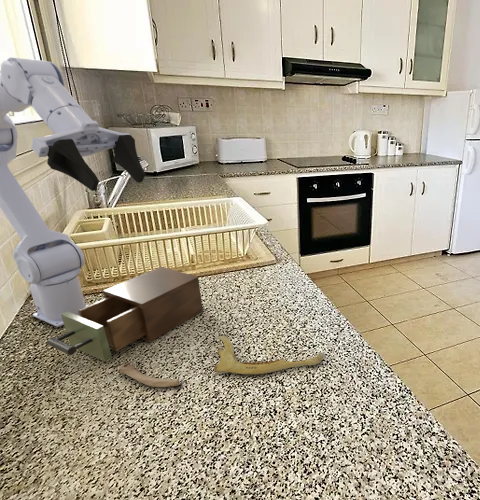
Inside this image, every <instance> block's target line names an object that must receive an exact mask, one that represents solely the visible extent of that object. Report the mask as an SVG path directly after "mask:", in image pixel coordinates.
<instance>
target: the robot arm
mask: <svg viewBox="0 0 480 500" xmlns="http://www.w3.org/2000/svg"><path fill="white" fill-rule="evenodd" d="M29 108H32V109H33V110H34V111H35V113H36V114H37V115H38V116H39V118H41V120H42V121H43V122H44V123H45V124H46V126H47V127H48V128H49V129H50V131H51V132H52V133H53V134H50V135H45V136H40V137H39V136H38V137H33V138H32V142H31V146H30V149H31V150H32V151H33V152H34V153H35V155H36V156H37V157H38V158H45V157H47V161H46V164H47V166H48V167H49V168H50V169H51V170H54V171H57V172H60V173H62V174H64V175H66V176H69V177H70V178H72V179H74V180H75V181H77V182H79V183H80V184H81V185H83V186H85V188H87V189H89V190H90V191H91V192H94V191H97V189H98V186H99V183H100V180H99V178H98V176H97V175H96V174H95V172H94V171H93V170H92V168H91V167H90V166H89V165H88V164H87V162H86V161H85V160H84V157H88V156H92V155H95V154H98V153H101V152H104V151H108V150H111V149H112V150H113V151H112V152H113V154H114V155H113V158H112V162H113V163H114V164H117V165H118V166H120V167H121V168H122V169H123V170H124V171H125V172H126V173H127V174H128V175H129V176H130V177H131V178H132V179H133V181H135V182H136V183H138V184H139V183H142V182H143V181H144V179H145V177H146V172H145V170H144V168H143V166H142V164H141V162H140V159H139V156H138V153H137V147H136V139H135V138H134V137H133V136H132V135H131V134H130V133H129V132H120V131H116V130H111V129H108V128H104V127H101V126H99V125H100V123H98V121H97V120H93V119H92V118H91V117H90V116H89V114H88V113H87V112H86V110H84V109H83V107H82V106H81V104H79V103H78V101H77V100H76V99H75V98H74V97H73V95H71V93H70V92H69V91H68V89H66V87H65V81H64V77H63V73H62V72H61V70H60V68H59V67H58V65H56V64H55V62H52V61H47V60H43V59H42V60H41V59H32V58H31V59H30V58H20V57H9V58H7V59H6V60H2V62H1V64H0V210H1V211H2V213H3V214H4V216H5V218H6V219H7V220H8V222H9V223H10V225H11V226H12V228H13V229H14V230H15V231H14V232H16V234H17V235H18V237H19V238H20V241H19V242H18V244H16V246H15V247H14V249H13V252H12V258H13V260H14V262H15V264H16V266H17V269H18V272H19V274H20V275H21V277H22V278H23V280H25V281H26V282H27V283H29V284H30V286H29V289H30V290H29V291H30V294H31V297H32V299H33V302H34V305H35V306H34V307H35V309H36V312H35V313H33V314H32V317H34V318H35V319H38V320H41V321H42V322H44V323H47V324H50V325H51V326H54V327H56V328H60V327H62V326H64V323H63V319H62V316H61V314H63V313H65V312H71V313H73V314H76V315H78V316H80V315H79V311H78V310H79V309H82V308H84V307H86V306H89V305H90V304H86V299H85V297H84V292H83V289H82V285H81V282H80V278H79V275H80V274H82V271H81V269H83V268H84V266H85V255H84V252H83V251H82V249H81V247H80V246H79V245H78V244H77V243H75V242H74V241H73V240H72V239H71V237H69V234H66V233H63V232H60V231H56V230H52V229H50V228H49V226H48V225H47V224H46V222H45V221H44V219H43V218H42V216H41V215H40V213H39V212H38V210H37V208H36V207H35V206H34V204H33V203H32V201H31V199H30V197H29V196H28V195H27V194H26V192H25V190H24V189H23V187H22V186H21V184H20V183H19V181H18V180H17V178H16V176H15V175H14V174H13V172H12V170H11V169H10V168H9V164H10V163H12V162H13V161H14V160H16V159H17V151H18V150H17V149H18V131H17V127H16V125H15V123H14V121H13V119H12V117H11V116H10V115H9V113H10V112H11V113H21V112H24V111H26V110H27V109H29Z"/></svg>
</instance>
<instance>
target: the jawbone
mask: <svg viewBox="0 0 480 500" xmlns="http://www.w3.org/2000/svg"><path fill="white" fill-rule="evenodd" d="M216 340H219V341H221V342H222V343H223V346H224V349H222V348H218V349H217V353H218V354H217V355H218V356H219V362H218V363H216V364H215V365H214V367H213V371H214V372H216V373H218V374H221V373H233V374H239V375H265V374H270V373H274V372H278V371H282V370H286V369H290V368H295V367H302V366H309V367H310V366H315V365H318V364H321V363H322V361H323V360H325V358H326V354H325V353H324V352H322V351H319V352H318V353H317V354H316V356H313V357H311V358H307V359H302V360H298V361H297V360H296V361H287V360H285V359H284V358H282V357H281V358H280V359H277V358H275V359H274V360H273V359H270V360H269V361H267V360H261V361H258V360H257V361H254V360H253V361H247V360H246V361H243V362H240V361H238V360H237V358H236V355H235V352H234V346H233V343H232V342H231V340H230V339H229V337H228V336H226V335H220V336H217V337H216Z"/></svg>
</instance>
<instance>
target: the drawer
mask: <svg viewBox="0 0 480 500" xmlns="http://www.w3.org/2000/svg"><path fill="white" fill-rule="evenodd" d="M88 305H89V306H86V307H84V308H82V309H79V310H78V311H79V315H80V316H78V315H76V314H73V313H71V312H65V313H63V314H61V316H62V319H63V323H64V325H63V327H64V329H65V333H64V334H62V335H60V336H57V337H54V336H53V337H52V336H51V337H50V338H48V339H47V340H46V344H47V346H50V347H51V348H54V349H56V350H58V351H60V352H62V353H64V354H66V355H68V356H72V355H75V354H76V352H77V350H79V351H81V352H83V353H85V354H87V355H90V356H92V357H94V358H96V359H98V360H101V362H104V363H106V362H108V361H109V360H112V358H113V357H112V354H111V353H112V352H111V350H112V351H113V352H118V351H121V349H123V348H125V347H128V346H129V345H131V344H133V343H134V342H136V341H137V340H139V339H140V338H141V337H143V336H144V335H146V333H145V328H144V324H143V319H142V314H141V309H140V307H139V306H136V305H134V304H131V303H128V302H125V301H122V300H119V299H116V298H114V297H111V296H109V297H107V298H102V299H101V300H98V301H95V302H94V303H91V304H88ZM65 339H68V343H67V342H65V341H63V340H65Z"/></svg>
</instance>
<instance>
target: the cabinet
mask: <svg viewBox="0 0 480 500" xmlns="http://www.w3.org/2000/svg"><path fill="white" fill-rule="evenodd" d="M199 279H200V278H199V276H197V275H193V274H189V273H187V272H182V271H179V270H175V269H172V268H168V267H164V266H159V267H157V268H155V269H151V270H150V271H147V272H144V273H142V274H140V275H137V276H135V277H132V278H130V279H127V280H125V281H123V282H120V283H118V284H115V285H113V286H111V287H108V288H106V289H104V290H102V292H103V293H102V294H103V297H104V298H103V299H105V298H107V297H109V296H111V297H114V298H116V299H119V300H122V301H125V302H128V303H131V304H134V305H136V306H139V307H140V309H141V314H142V319H143V324H144V328H145V333H146V335H144V336H143V337H141V338H139V339H140V340H141V341H142V340H143V341H145V342H147V343H152V342H153V341H155V340H157V339H159V338H160V337H162V336H164V335H166V334H167V333H168V332H171V331H173V330H174V329H175V328H177V327H179V326H180V325H182V324H184V323H185V322H188V321H189V320H191V319H193V318H194V317H196V316H197V315H199V314H200V313H202V312H204V309H203V300H202V294H201V286H200V280H199Z"/></svg>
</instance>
